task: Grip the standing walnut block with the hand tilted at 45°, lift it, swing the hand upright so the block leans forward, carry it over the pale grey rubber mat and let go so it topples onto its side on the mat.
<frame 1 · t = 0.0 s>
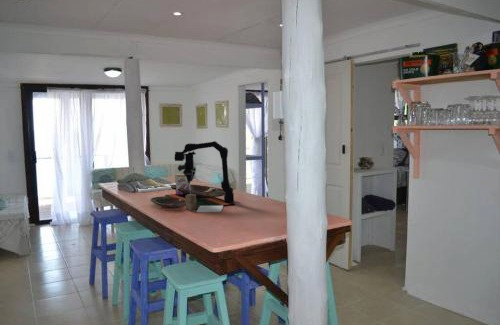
hand: (190, 182, 283), 15 cm above the table, tool pointing down, fingers open, 9 cm apart
grey mat: (210, 209, 260), on the table
walnut block: (191, 209, 261), on the table
holder: (161, 189, 347), on the table
candy bar box: (183, 194, 317), on the table
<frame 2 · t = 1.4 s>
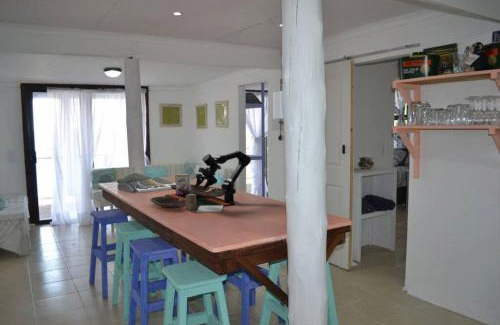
hand: (199, 188, 265), 13 cm above the table, tool tilted 45°, fingers open, 9 cm apart
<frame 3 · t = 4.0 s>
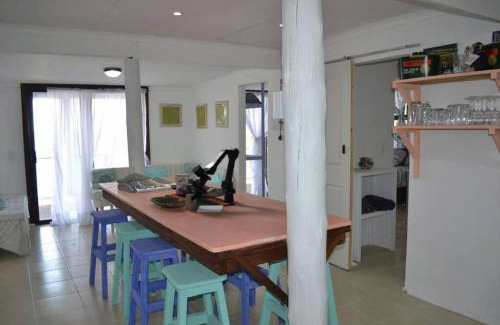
hand: (189, 199, 259), 7 cm above the table, tool tilted 45°, fingers closed on walnut block, 5 cm apart
walnut block: (191, 209, 261), on the table, touching gripper
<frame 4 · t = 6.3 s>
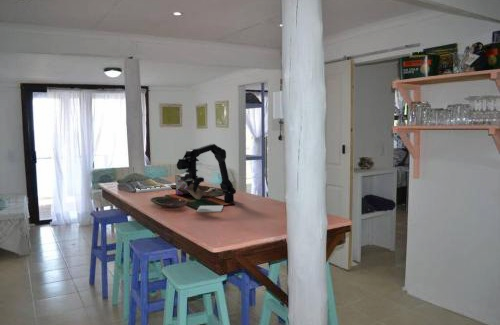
hand: (192, 191, 259), 12 cm above the table, tool pointing down, fingers closed on walnut block, 5 cm apart
walnut block: (199, 196, 263), point 8 cm above the table, tilted 45°, touching gripper
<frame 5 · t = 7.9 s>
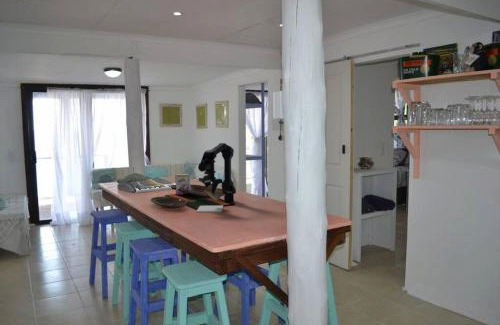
hand: (210, 193, 260), 11 cm above the table, tool pointing down, fingers closed on walnut block, 5 cm apart
walnut block: (217, 197, 264), point 7 cm above the table, tilted 45°, touching gripper
when the fingers open (8 cm above the table, at t = 9.0 s): walnut block moves 2 cm and tips over, resting on grey mat.
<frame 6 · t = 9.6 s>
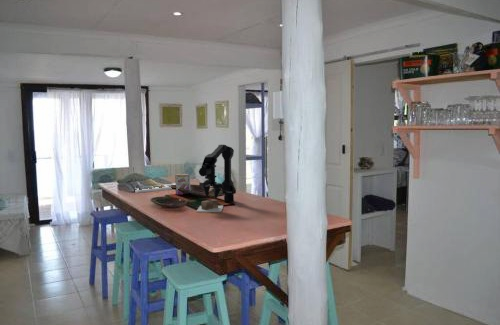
hand: (211, 197, 260), 8 cm above the table, tool pointing down, fingers open, 9 cm apart
walnut block: (215, 203, 263), point 3 cm above the table, tilted 90°, touching grey mat
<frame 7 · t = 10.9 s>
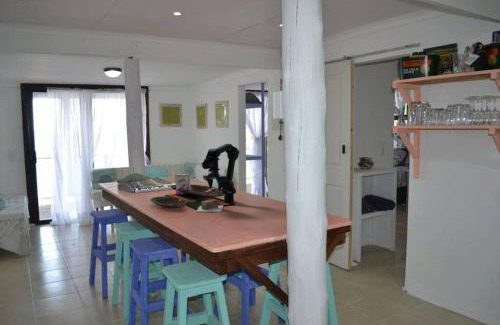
hand: (215, 189, 268), 12 cm above the table, tool pointing down, fingers open, 9 cm apart
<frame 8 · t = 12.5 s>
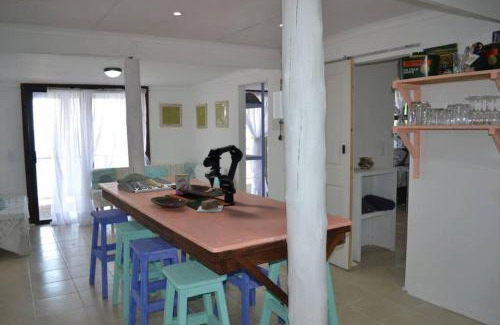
hand: (216, 188, 271), 12 cm above the table, tool pointing down, fingers open, 9 cm apart
at the end: walnut block tilted 90°; walnut block touching grey mat; walnut block inside the target area on the grey mat (4.8 cm from its centre), point 3.3 cm above the grey mat's base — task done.
